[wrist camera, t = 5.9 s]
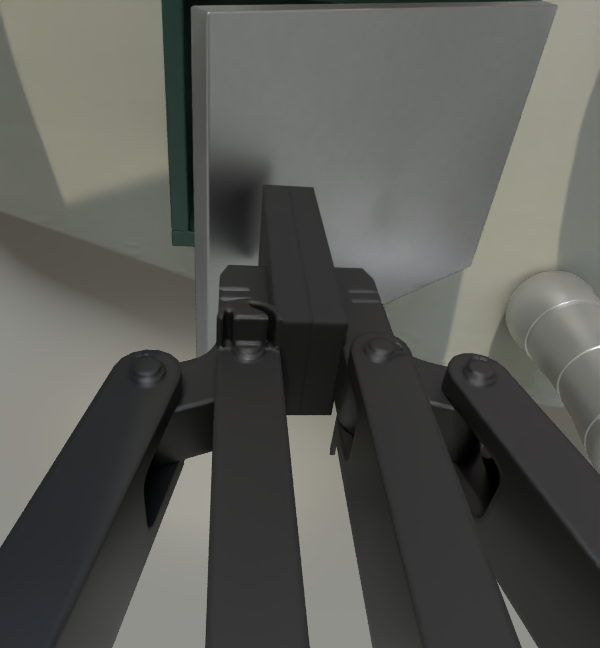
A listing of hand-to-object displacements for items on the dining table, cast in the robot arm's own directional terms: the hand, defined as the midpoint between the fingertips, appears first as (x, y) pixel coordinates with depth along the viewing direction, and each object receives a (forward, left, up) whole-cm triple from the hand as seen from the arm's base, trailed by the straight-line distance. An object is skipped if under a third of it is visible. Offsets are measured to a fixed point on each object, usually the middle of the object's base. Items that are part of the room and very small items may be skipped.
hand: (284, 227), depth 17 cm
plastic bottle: (+27, -2, -19) cm, 32 cm away
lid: (+3, +2, -4) cm, 6 cm away
